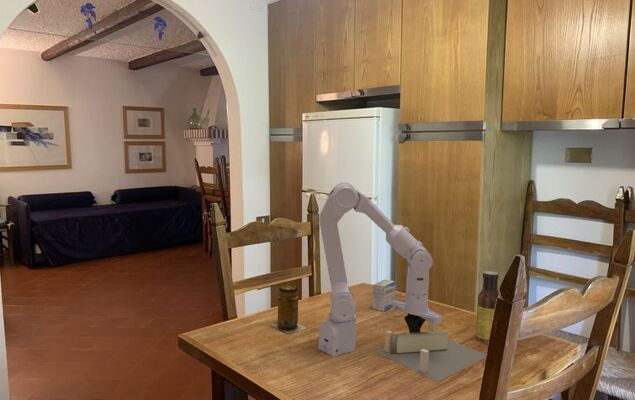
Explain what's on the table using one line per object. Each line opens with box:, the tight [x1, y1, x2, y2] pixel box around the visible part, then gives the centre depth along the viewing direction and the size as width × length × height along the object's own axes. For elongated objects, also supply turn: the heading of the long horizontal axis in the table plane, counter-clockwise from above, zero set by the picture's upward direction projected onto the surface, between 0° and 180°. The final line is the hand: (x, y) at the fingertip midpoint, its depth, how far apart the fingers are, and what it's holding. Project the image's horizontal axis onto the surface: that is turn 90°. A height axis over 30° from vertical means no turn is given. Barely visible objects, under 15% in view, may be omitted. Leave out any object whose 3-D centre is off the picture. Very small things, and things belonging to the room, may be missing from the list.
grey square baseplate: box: [374, 320, 487, 383], centre depth 119 cm, size 22×20×6 cm
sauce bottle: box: [475, 270, 500, 345], centre depth 128 cm, size 6×6×20 cm
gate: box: [391, 329, 449, 353], centre depth 120 cm, size 15×1×5 cm, turn 102°
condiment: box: [271, 284, 308, 334], centre depth 136 cm, size 7×8×12 cm
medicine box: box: [372, 279, 397, 312], centre depth 155 cm, size 8×4×9 cm, turn 143°
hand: (414, 341), depth 122 cm, fingers closed, pressing on gate
